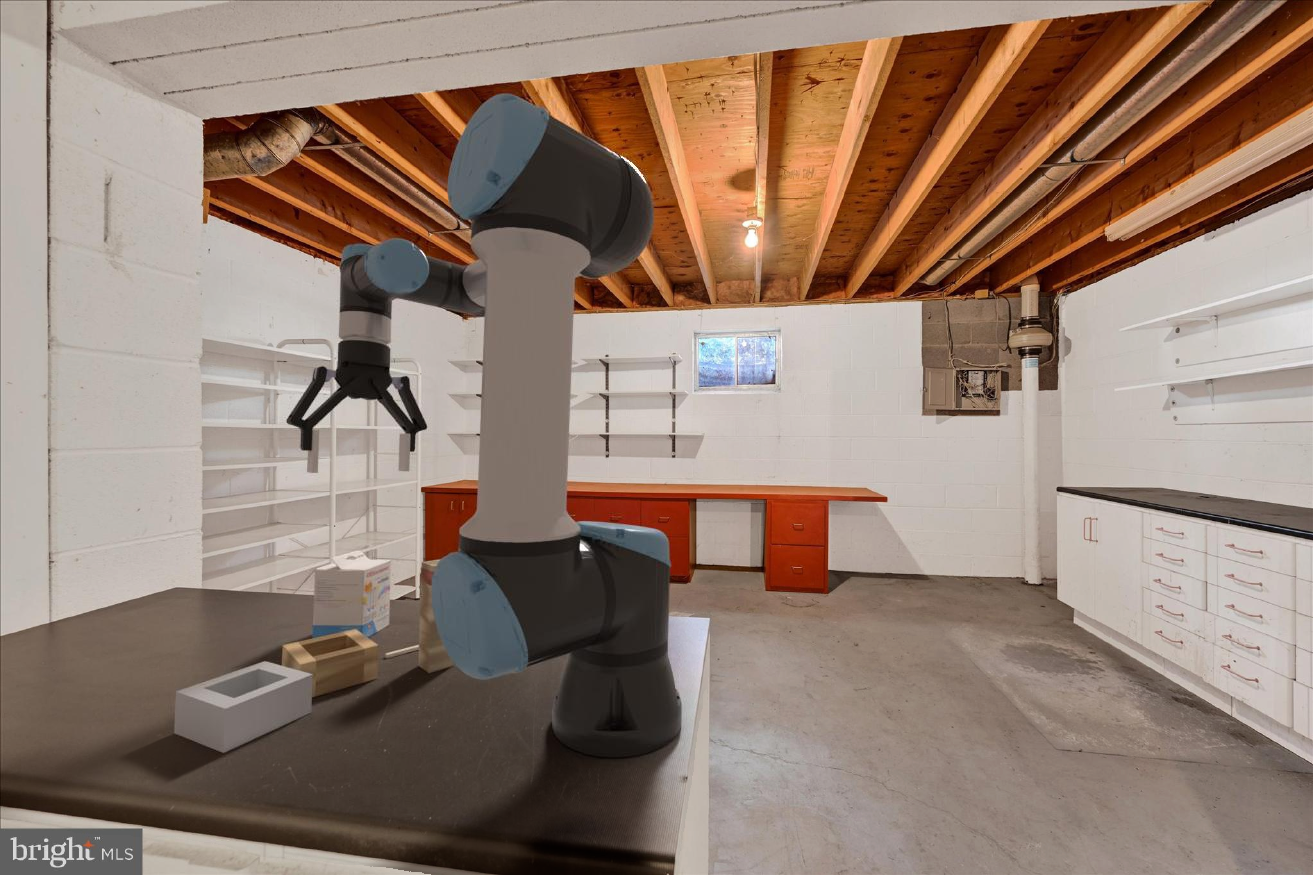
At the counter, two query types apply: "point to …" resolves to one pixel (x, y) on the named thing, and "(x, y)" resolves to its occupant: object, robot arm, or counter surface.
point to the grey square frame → (242, 705)
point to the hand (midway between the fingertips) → (360, 472)
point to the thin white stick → (402, 651)
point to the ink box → (351, 595)
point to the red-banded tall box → (430, 626)
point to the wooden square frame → (334, 660)
